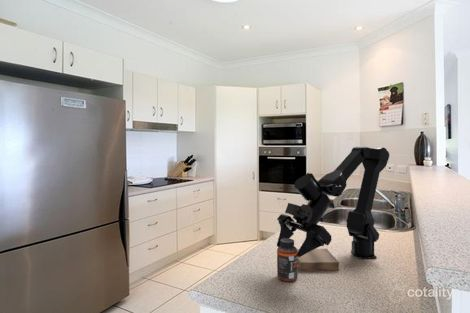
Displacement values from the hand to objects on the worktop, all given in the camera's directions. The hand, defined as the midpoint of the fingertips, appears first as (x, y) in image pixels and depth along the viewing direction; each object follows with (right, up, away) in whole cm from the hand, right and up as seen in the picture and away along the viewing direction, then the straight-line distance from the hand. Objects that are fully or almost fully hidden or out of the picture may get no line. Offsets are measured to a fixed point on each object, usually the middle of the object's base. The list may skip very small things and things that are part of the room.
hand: (287, 251), depth 84 cm
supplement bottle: (0, -8, 0) cm, 8 cm away
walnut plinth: (+11, -8, +11) cm, 17 cm away
